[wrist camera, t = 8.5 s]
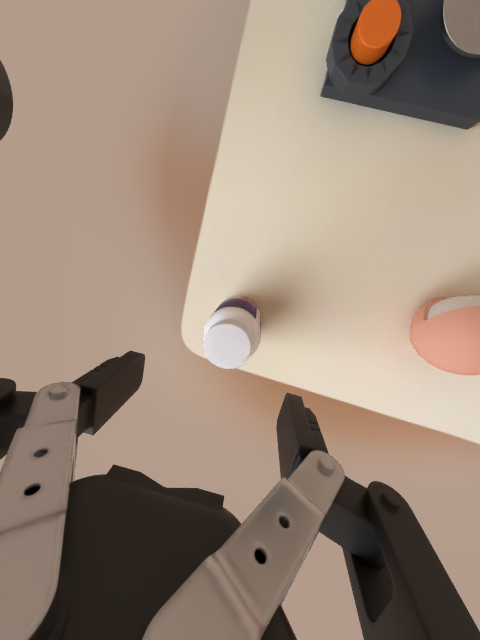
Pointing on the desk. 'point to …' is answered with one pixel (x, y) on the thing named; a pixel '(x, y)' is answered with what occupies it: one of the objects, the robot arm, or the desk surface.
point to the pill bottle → (232, 332)
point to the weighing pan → (461, 26)
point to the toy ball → (449, 334)
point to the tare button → (375, 30)
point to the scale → (406, 69)
